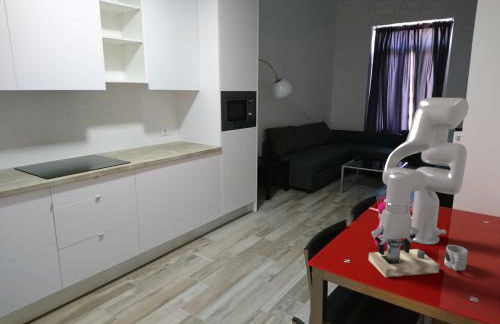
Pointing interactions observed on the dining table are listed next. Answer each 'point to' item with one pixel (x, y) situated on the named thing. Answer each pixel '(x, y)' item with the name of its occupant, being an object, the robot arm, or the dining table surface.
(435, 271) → the jig
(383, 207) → the pepper mill
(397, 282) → the dining table surface
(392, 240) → the silver domed cylinder
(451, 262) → the mug
